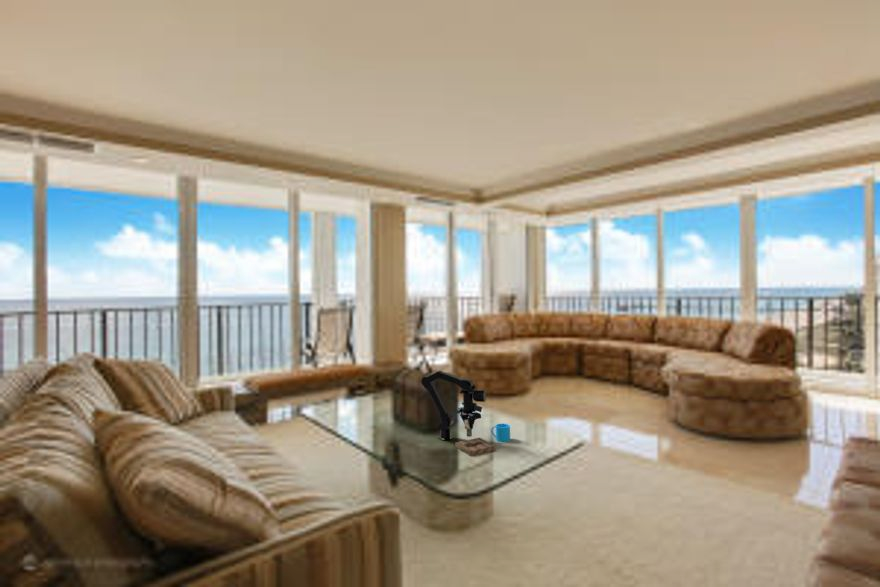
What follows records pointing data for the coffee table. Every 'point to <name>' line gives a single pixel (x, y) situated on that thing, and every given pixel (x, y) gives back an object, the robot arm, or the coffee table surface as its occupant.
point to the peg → (468, 428)
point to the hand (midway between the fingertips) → (469, 427)
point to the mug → (502, 432)
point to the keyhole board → (475, 446)
